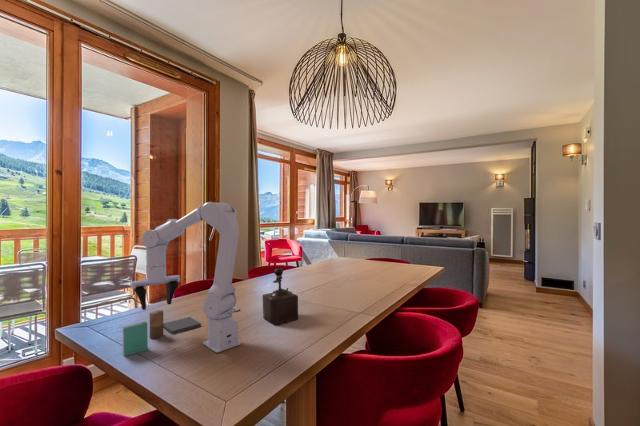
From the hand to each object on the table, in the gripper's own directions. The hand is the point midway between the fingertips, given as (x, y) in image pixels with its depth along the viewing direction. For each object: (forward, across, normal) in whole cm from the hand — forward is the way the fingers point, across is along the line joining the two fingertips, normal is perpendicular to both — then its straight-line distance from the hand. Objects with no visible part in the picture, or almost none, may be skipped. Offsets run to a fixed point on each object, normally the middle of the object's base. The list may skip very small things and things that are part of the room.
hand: (156, 306), depth 98 cm
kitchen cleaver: (+10, -32, -15) cm, 37 cm away
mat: (+10, -9, -3) cm, 14 cm away
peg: (+10, 0, 0) cm, 10 cm away
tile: (+10, +8, +9) cm, 15 cm away
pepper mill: (+10, -39, +15) cm, 43 cm away
